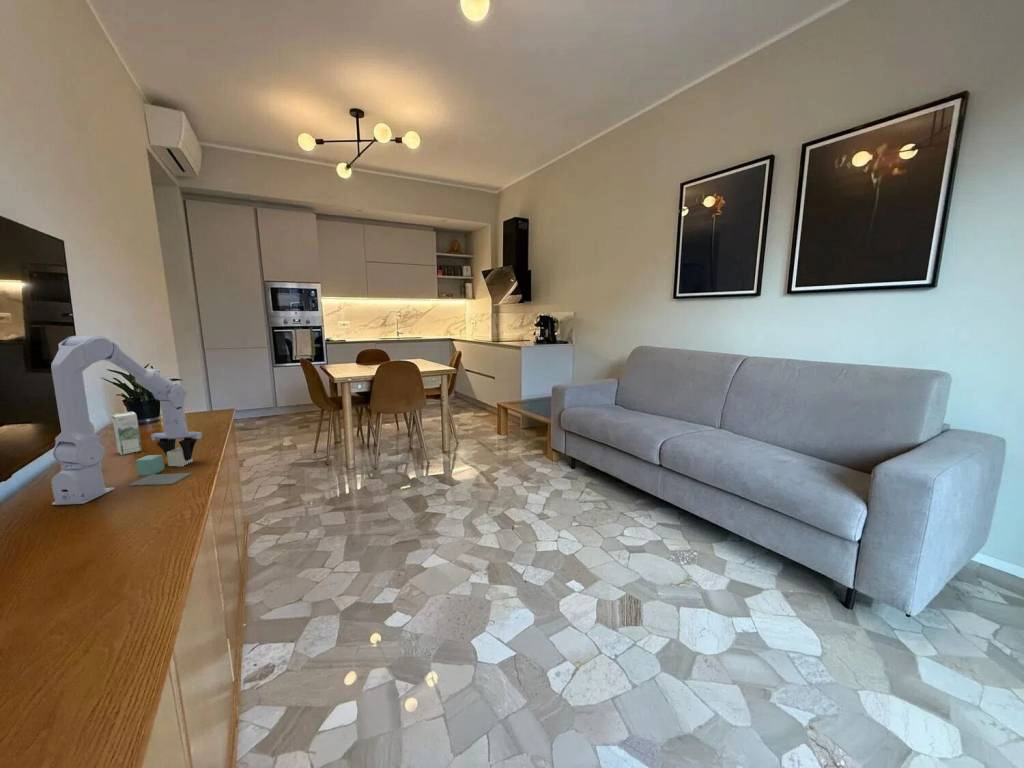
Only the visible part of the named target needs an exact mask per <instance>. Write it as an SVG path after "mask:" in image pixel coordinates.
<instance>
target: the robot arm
mask: <svg viewBox="0 0 1024 768" xmlns="http://www.w3.org/2000/svg"><path fill="white" fill-rule="evenodd" d="M57 345H58V351H57V352H56V355H55V356H54V358H53V360H52V362H51V365H50V366H51V367H50V369H51V376H52V382H53V387H54V394H55V399H56V400H55V401H56V406H57V411H58V412H57V413H58V419H59V424H60V430H61V432H60V433H59V434H58V435H57V436H55V438H54V441H55V443H54V444H55V445H54V448H53V450H52V457H53V458H54V460H55V461H57V462H58V463H60V466H61V469H60V471H59V472H58V473H57V474H55V475H54V476H52V477H51V478H52V479H51V482H50V484H51V489H52V490H51V491H52V494H53V499H54V501H53V502H51V505H52V506H54V505H56V506H58V505H59V506H60V505H81V504H86V503H88V502H90V501H92V500H94V499H96V498H99V497H101V496H103V495H105V494H107V493H110V492H111V491H114V490H115V487H106V486H105V481H104V476H103V470H102V465H101V464H100V463H102V462H101V460H102V459H103V458H104V456H105V451H106V450H105V447H104V446H103V445H102V443H101V442H100V440H99V439H100V438H99V436H98V435H97V434H96V433H95V431H94V432H93V431H92V430H91V427H90V422H91V421H90V414H89V409H88V402H87V401H88V400H87V395H86V389H85V382H84V375H83V371H85V370H87V368H89V367H91V365H93V364H95V363H97V362H101V361H105V362H110V363H111V364H113V365H115V366H116V367H118V368H120V369H121V370H124V371H125V372H127V373H129V374H130V375H131V376H133V377H135V378H134V379H135V383H137V384H138V385H139V386H141V387H142V388H143V389H146V390H147V391H148V392H150V393H152V394H153V397H154V399H155V400H157V401H159V404H160V410H161V415H162V423H163V430H164V432H155V433H151V434H150V436H151V441H158V440H159V441H158V442H156V445H157V446H158V447H159V448H160V450H162V451H163V453H164V454H165V457H167V452H168V451H170V450H173V449H175V448H176V442H177V440H179V441H178V444H179V445H180V448H182V450H183V454H184V458H185V461H188V460H190V459H193V451H194V448H195V445H196V443H197V441H198V440H199V439H202V438H203V435H202V431H191V430H188V425H187V419H186V413H185V406H184V405H185V400H186V397H187V395H188V393H187V390H185V388H184V387H183V386H182V385H180V384H176V383H175V384H174V382H173V380H172V379H169V378H166V377H165V376H164V375H163V374H162V373H161V371H160V370H158V369H157V368H156V369H155V368H145V367H144V366H143V365H141V364H140V363H139V362H137V360H135V359H134V358H133V357H132V356H130V355H129V354H127V353H126V352H125V351H123V350H122V349H121V348H120V347H119V345H118V344H117V343H115V342H113V341H111V340H110V339H109V338H107V337H105V336H102V335H94V336H90V335H88V336H87V335H86V336H84V335H83V336H82V335H72V336H68V337H66V338H65V339H64V340H62V341H61V342H59V343H58V344H57Z"/></svg>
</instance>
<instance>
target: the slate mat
mask: <svg viewBox="0 0 1024 768" xmlns="http://www.w3.org/2000/svg"><path fill="white" fill-rule="evenodd" d="M187 476H188V477H189V476H192V472H188V473H187V472H185V473H184V472H183V473H162V474H161V473H160V474H159V473H157V474H151V475H146V476H145V477H142V478H140V479H139V480H136V481H134V482H132V483H130V484H128V486H129V487H136V486H135V485H151V486H171V485H170V484H173V485H175V484H177V483H179V482H180V481H182V480H183V478H184V479H186V478H187ZM185 477H186V478H185ZM176 482H177V483H176ZM174 483H175V484H174ZM167 484H169V485H167Z"/></svg>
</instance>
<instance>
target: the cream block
mask: <svg viewBox="0 0 1024 768" xmlns="http://www.w3.org/2000/svg"><path fill="white" fill-rule="evenodd" d="M166 458H167V463H168V467H169V466H177V467H185V466H186V464H187V465H189V464H191V463H193V461H194V460H193V458H192V459H190V460H188V461H185V458H184V454H183V450H182V447H175V449H173V450H170V451H168V452H167V456H166ZM190 462H191V463H190ZM188 463H189V464H188ZM184 465H185V466H184Z"/></svg>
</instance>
